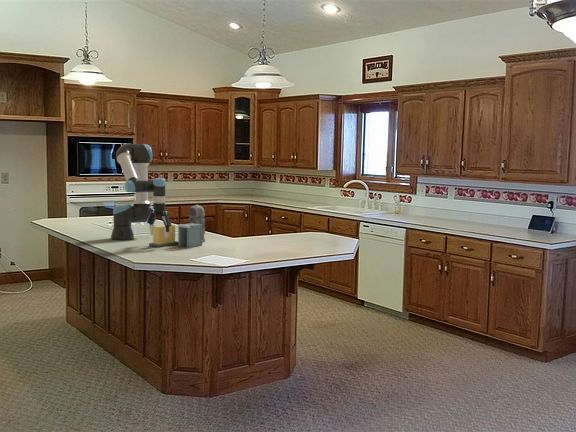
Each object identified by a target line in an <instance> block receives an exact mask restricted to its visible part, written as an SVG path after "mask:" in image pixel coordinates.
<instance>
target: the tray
mask: <svg viewBox="0 0 576 432" xmlns="http://www.w3.org/2000/svg"><path fill="white" fill-rule="evenodd" d="M148 246H149V247H151V246H152V247H153V248H157V247H158V248H163V247H164V248H165V247H172V246H178V241H177V240H175V242H173V243H166V244H159V245H158V244H153V242H149V244H148ZM158 248H157V249H158Z"/></svg>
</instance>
